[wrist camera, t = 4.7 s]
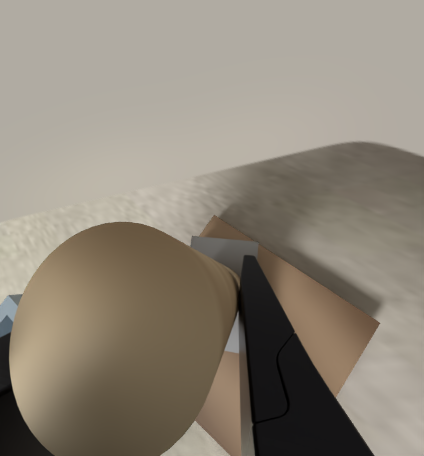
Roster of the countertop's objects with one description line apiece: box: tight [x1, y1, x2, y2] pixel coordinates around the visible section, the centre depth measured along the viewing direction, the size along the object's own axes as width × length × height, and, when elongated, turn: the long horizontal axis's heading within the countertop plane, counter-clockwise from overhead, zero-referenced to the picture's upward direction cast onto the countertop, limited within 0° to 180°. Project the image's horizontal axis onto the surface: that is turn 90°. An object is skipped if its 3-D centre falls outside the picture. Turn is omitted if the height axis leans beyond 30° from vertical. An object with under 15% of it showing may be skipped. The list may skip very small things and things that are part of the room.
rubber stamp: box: [9, 222, 259, 456], centre depth 8 cm, size 6×4×12 cm, turn 173°
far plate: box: [195, 215, 380, 456], centre depth 14 cm, size 11×12×1 cm
